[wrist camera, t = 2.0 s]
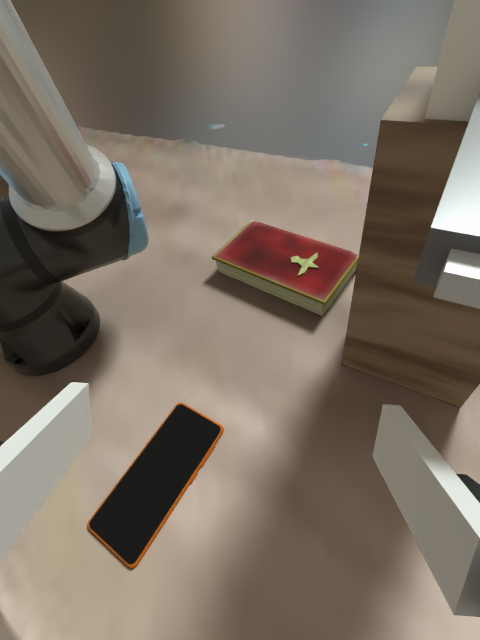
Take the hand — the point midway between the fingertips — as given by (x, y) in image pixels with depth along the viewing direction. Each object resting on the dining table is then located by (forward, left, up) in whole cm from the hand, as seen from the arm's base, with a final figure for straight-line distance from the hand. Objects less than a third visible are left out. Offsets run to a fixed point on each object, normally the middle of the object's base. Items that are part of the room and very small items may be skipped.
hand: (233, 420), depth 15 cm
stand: (-7, +26, -26) cm, 37 cm away
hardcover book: (-30, +22, -26) cm, 45 cm away
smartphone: (-11, -8, -26) cm, 30 cm away
